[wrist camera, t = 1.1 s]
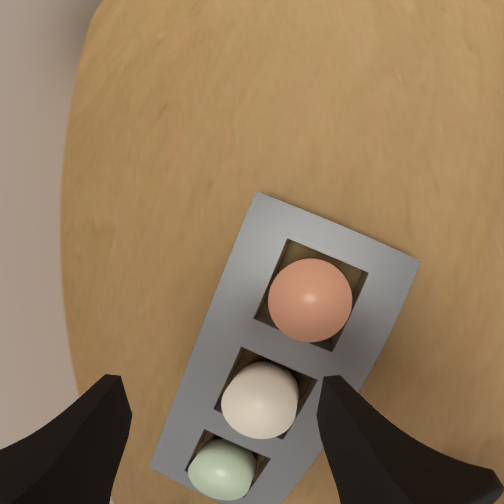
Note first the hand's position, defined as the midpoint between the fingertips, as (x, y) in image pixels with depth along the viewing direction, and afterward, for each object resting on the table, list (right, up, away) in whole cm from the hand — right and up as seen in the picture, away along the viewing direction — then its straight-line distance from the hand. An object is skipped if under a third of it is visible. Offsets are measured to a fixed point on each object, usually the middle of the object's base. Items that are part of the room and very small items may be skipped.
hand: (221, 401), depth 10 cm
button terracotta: (+5, +2, +11) cm, 12 cm away
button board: (+2, -5, +13) cm, 14 cm away
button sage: (-1, -12, +12) cm, 17 cm away
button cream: (+2, -5, +12) cm, 13 cm away
